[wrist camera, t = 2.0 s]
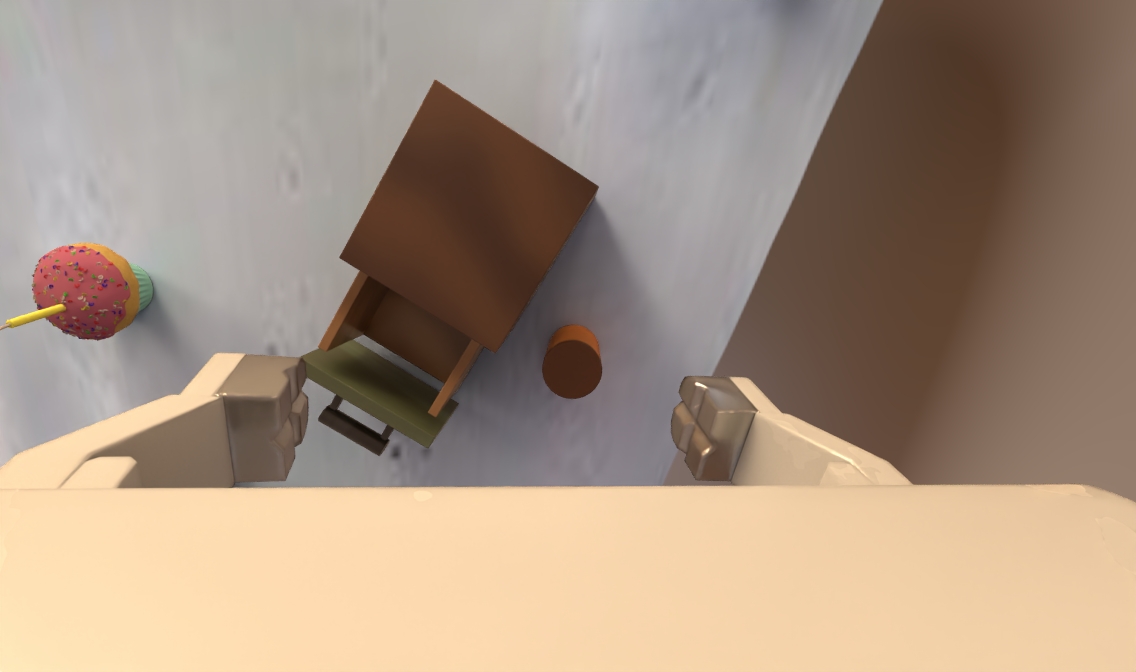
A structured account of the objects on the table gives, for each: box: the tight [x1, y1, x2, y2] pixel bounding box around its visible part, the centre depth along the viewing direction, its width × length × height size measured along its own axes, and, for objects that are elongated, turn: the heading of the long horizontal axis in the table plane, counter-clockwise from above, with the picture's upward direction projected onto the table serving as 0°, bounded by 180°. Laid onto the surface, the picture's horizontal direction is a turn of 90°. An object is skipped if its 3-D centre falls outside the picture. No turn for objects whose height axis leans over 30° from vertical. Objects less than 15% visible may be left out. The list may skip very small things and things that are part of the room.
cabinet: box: [340, 80, 599, 353], centre depth 45 cm, size 15×14×11 cm
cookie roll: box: [542, 325, 602, 399], centre depth 49 cm, size 5×5×8 cm
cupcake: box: [0, 243, 153, 341], centre depth 46 cm, size 9×8×12 cm
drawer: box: [299, 271, 484, 456], centre depth 47 cm, size 18×13×9 cm
